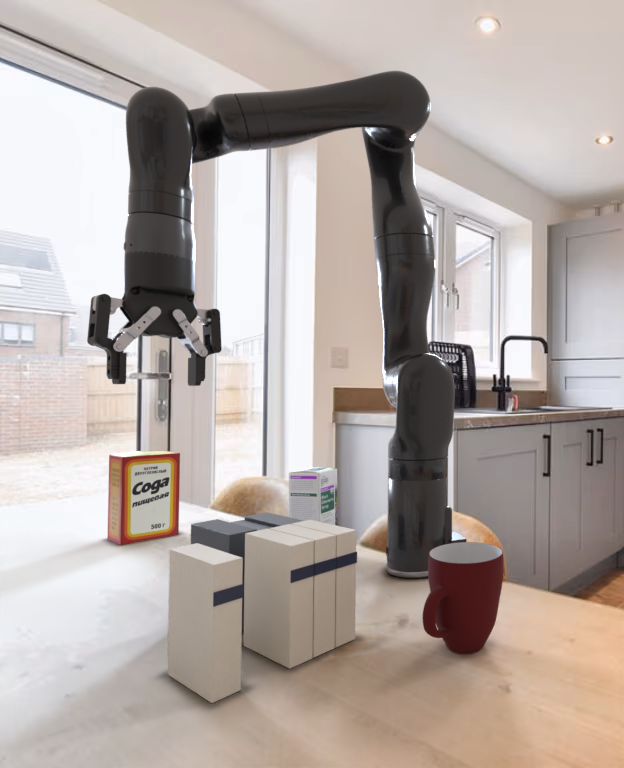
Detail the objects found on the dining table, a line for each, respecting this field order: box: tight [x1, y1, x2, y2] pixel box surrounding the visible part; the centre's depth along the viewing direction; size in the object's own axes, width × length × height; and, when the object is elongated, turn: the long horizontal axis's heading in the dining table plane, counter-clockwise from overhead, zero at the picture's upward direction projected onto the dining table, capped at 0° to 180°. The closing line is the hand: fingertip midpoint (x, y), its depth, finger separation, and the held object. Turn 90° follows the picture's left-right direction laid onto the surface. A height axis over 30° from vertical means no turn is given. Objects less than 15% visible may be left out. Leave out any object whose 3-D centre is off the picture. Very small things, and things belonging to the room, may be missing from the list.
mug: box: [422, 541, 504, 655], centre depth 57 cm, size 10×8×10 cm
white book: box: [167, 543, 243, 704], centre depth 51 cm, size 3×9×12 cm, turn 55°
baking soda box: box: [107, 450, 181, 546], centre depth 102 cm, size 10×6×16 cm
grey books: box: [190, 511, 303, 633], centre depth 66 cm, size 10×9×11 cm
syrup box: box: [288, 466, 339, 526], centre depth 90 cm, size 6×6×14 cm
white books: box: [243, 520, 358, 670], centre depth 59 cm, size 8×9×12 cm
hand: (158, 385), depth 68 cm, fingers open, 8 cm apart
